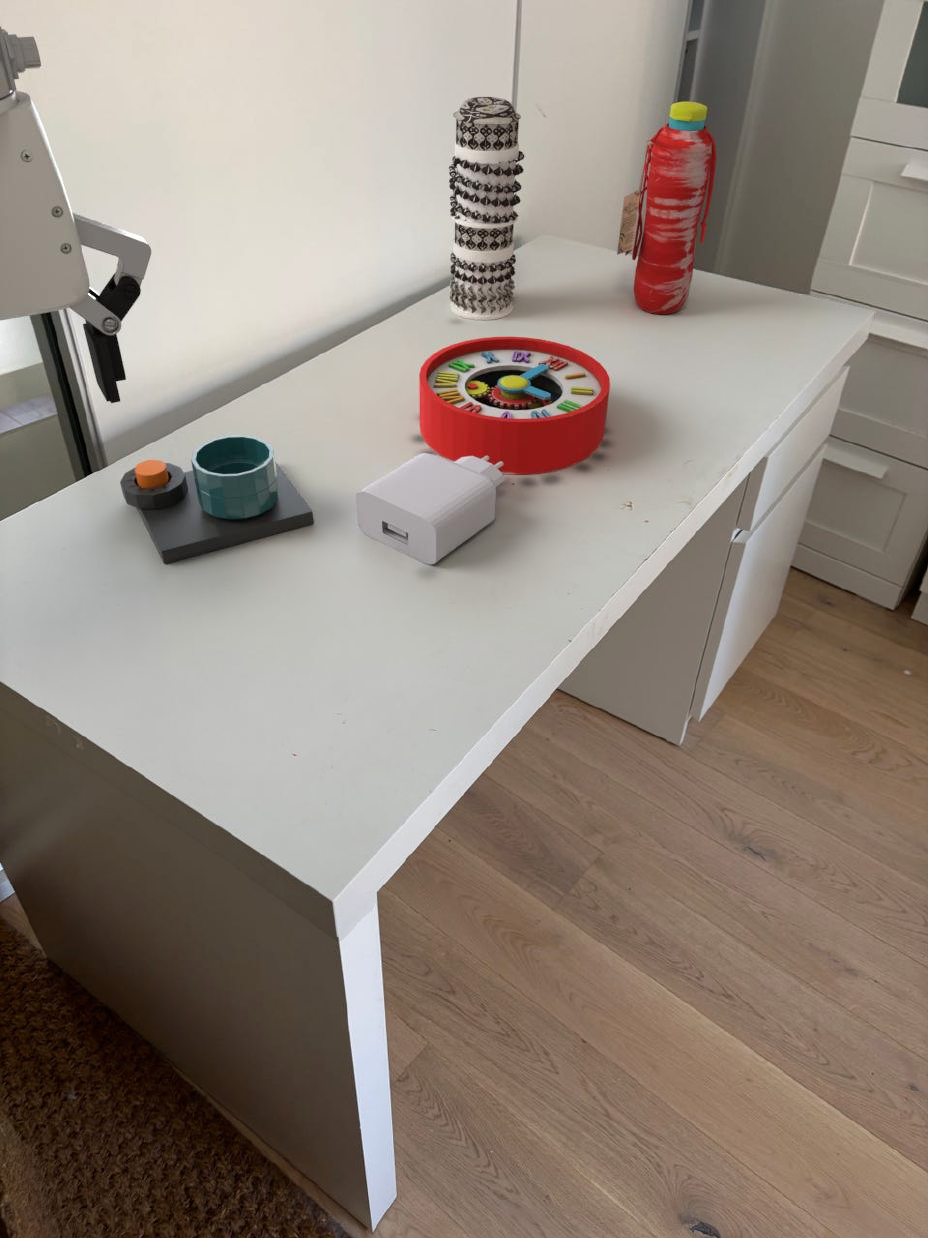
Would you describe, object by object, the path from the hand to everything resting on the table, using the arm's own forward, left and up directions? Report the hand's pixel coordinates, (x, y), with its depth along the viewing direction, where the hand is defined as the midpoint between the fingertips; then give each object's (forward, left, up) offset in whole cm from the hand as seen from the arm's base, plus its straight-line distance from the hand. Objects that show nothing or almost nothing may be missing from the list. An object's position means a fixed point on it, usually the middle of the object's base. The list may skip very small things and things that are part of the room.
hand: (23, 410), depth 55 cm
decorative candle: (+61, +54, -24) cm, 85 cm away
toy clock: (+48, +24, -24) cm, 59 cm away
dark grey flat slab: (+15, +22, -24) cm, 36 cm away
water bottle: (+82, +45, -24) cm, 97 cm away
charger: (+34, +12, -24) cm, 44 cm away
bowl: (+17, +21, -23) cm, 35 cm away
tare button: (+10, +26, -22) cm, 35 cm away
